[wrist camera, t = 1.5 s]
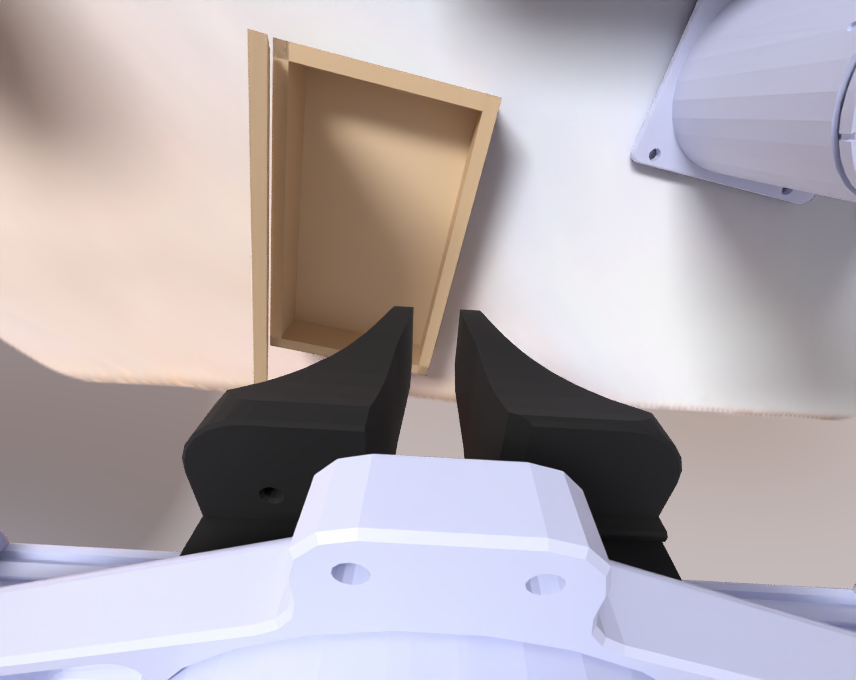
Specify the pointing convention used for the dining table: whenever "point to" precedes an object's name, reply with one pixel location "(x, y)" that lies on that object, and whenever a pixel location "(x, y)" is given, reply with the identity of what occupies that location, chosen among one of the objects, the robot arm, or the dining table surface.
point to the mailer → (367, 196)
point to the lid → (259, 195)
